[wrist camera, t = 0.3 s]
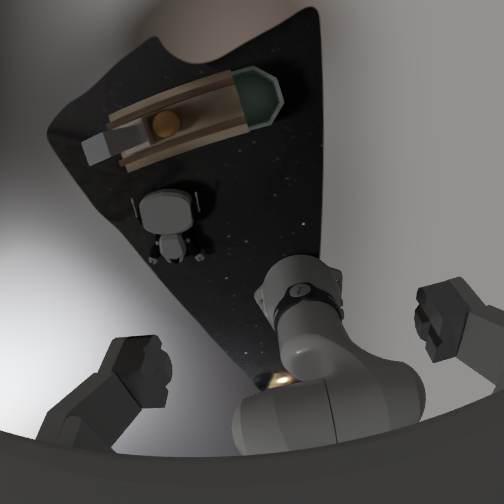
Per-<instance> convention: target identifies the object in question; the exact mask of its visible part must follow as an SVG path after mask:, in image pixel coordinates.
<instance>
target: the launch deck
mask: <svg viewBox="0 0 504 504" xmlns="http://www.w3.org/2000/svg"><path fill="white" fill-rule="evenodd" d="M162 111H172V112H174V113H175V114H176V115H177V116H178V117H179V120H180V127H179V129H178V131H177V132H176V133H175V134H174V135H173V136H171V137H161V136H159V135H157V134H156V133H155V131H154V129H153V120H154V118H155V116H156V115H157V114H158V113H160V112H162ZM108 116H109V119H110V123H108V124H106V126H107V129H108V130H111V129H113V130H114V129H117V128H118V127H121V126H123V125H125V124H128V123H130V122H132V121H135V120H137V119H139V118H144V117H147V120H148V123H149V126H150V129H151V132H152V135H153V138H154V141H155V144H153V145H151V146H148V147H145V148H143V149H140V150H138V151H135V152H133V153H130V154H128V155H126V153H125V151H123V152H121V154H122V157H123V159H122V160H120V161H119V164H120V166H121V167H122V166H124V165H126V168H127V171H128V172H131V171H133V170H136V169H139V168H141V167H144V166H146V165H149V164H152V163H155V162H157V161H160V160H163V159H166V158H168V157H171V156H174V155H177V154H180V153H183V152H186V151H189V150H192V149H195V148H198V147H201V146H204V145H207V144H210V143H213V142H216V141H220V140H223V139H226V138H229V137H233V136H236V135H240V134H243V133H247V132H249V128H248V125H247V122H246V118H245V115H244V112H243V109H242V105H241V102H240V99H239V96H238V92H237V89H236V86H235V83H234V80H233V77H232V73H231V70H227V71H224V72H220V73H217V74H214V75H211V76H208V77H204V78H201V79H198V80H195V81H192V82H190V83H187V84H184V85H181V86H178V87H176V88H173V89H170V90H167V91H165V92H162V93H160V94H157V95H155V96H152V97H150V98H147V99H145V100H142V101H140V102H137V103H135V104H133V105H130V106H128V107H126V108H124V109H121V110H119V111H117V112H115V113H113V114H110V115H108Z"/></svg>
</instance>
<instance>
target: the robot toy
mask: <svg viewBox="0 0 504 504" xmlns="http://www.w3.org/2000/svg"><path fill="white" fill-rule="evenodd" d="M195 196H196V200H197V202H196V200H195V199H192V197H191V196H190V194H189V193H187V192H185V191H182V190H177V189H162V190H158V191H155V192H152V193H150V194H148V195H146V196H145V197H144V198H143V200H142V201H141V202H140V205H139V206H138V208H137V211H136V208H135V205H134V201H133V199H132V198H131V202H132V204H133V207H134V210H135V213H136V217H138V220H139V222H140V224H141V225H143V226H144V228H145V229H146V230H147V231H149V232H151V233H155V234H156V237H155V240H156V243H155V244H154V245H153V246H152V248H151V252H150V257H149V262H150V263H152V260H153V261H154V262H153V264H156V263H157V261H158V258H159V255H160V252H161V254H162V256H164V257H165V258H166V260H167V262H170V263H172V261H173V263H175V264H178V263H179V262H181V261H182V260H183V257H184V255H185V253H186V250H187V245H188V250H189V252H190V253H191V254H192V256H193V257H195V259H196V260H198V261H201V259H202V260H203V259H204V254H202V253H201V249H200V248H199V246H198V245H197V243H196V242H194V241H191V240H190V239H189V234H188V233H187V231H186V230H188V229H189V228H190V227H192V225H193V222H194V221H195V220H197V217H198V214H199V212H200V207H199V203H198V198H197V192H195ZM200 257H201V259H200Z"/></svg>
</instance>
